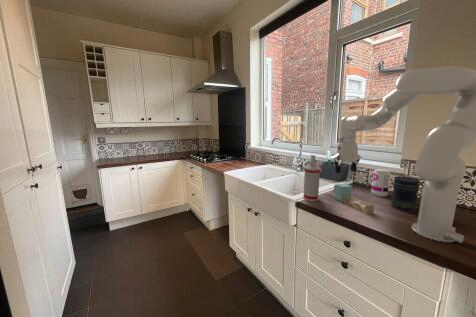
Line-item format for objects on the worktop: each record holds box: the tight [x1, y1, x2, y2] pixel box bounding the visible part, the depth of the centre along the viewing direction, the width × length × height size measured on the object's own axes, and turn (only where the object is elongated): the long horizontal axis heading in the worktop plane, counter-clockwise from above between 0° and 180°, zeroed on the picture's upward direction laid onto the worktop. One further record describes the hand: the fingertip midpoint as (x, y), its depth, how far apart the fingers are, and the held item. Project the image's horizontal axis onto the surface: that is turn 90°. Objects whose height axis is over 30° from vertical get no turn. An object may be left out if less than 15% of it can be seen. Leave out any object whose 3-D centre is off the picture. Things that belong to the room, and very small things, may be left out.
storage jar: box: [390, 175, 420, 213], centre depth 103 cm, size 10×10×15 cm
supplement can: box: [370, 168, 391, 197], centre depth 121 cm, size 8×8×15 cm
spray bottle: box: [302, 154, 321, 202], centre depth 114 cm, size 8×8×25 cm
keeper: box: [334, 183, 353, 202], centre depth 114 cm, size 5×6×8 cm
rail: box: [332, 184, 375, 215], centre depth 107 cm, size 23×4×8 cm, turn 13°
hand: (345, 172), depth 111 cm, fingers open, 9 cm apart
